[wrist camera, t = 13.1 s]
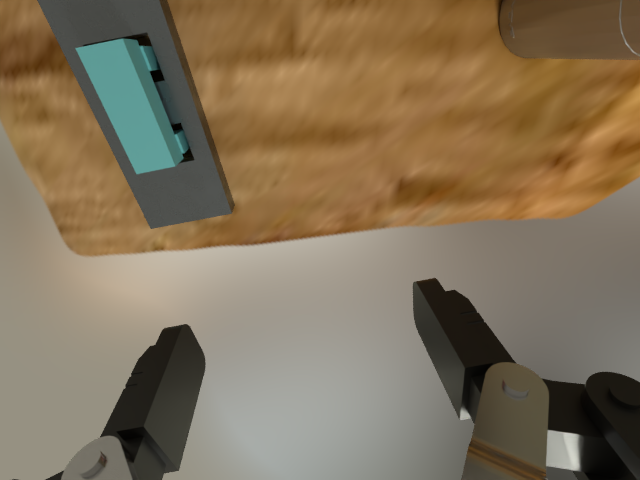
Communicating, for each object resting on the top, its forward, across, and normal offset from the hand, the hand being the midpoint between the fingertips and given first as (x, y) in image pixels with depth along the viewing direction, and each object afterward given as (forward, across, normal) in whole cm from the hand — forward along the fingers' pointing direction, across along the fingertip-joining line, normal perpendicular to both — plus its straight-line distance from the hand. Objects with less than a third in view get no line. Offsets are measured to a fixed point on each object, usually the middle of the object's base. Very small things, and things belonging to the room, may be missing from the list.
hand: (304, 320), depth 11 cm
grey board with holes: (+30, +14, -6) cm, 34 cm away
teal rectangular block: (+30, +14, -6) cm, 34 cm away
